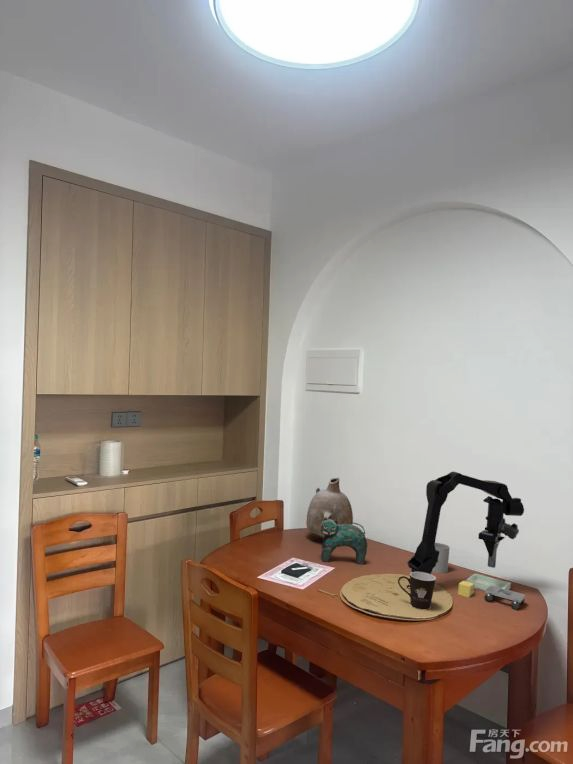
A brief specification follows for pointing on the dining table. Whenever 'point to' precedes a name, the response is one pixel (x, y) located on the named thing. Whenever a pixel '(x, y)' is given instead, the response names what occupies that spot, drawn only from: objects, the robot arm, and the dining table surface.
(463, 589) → the yellow block
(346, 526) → the ceramic cat
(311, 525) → the jug
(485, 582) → the tray
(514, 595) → the cart
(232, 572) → the dining table surface
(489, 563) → the pin
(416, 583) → the coffee mug
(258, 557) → the dining table surface
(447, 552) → the cup
